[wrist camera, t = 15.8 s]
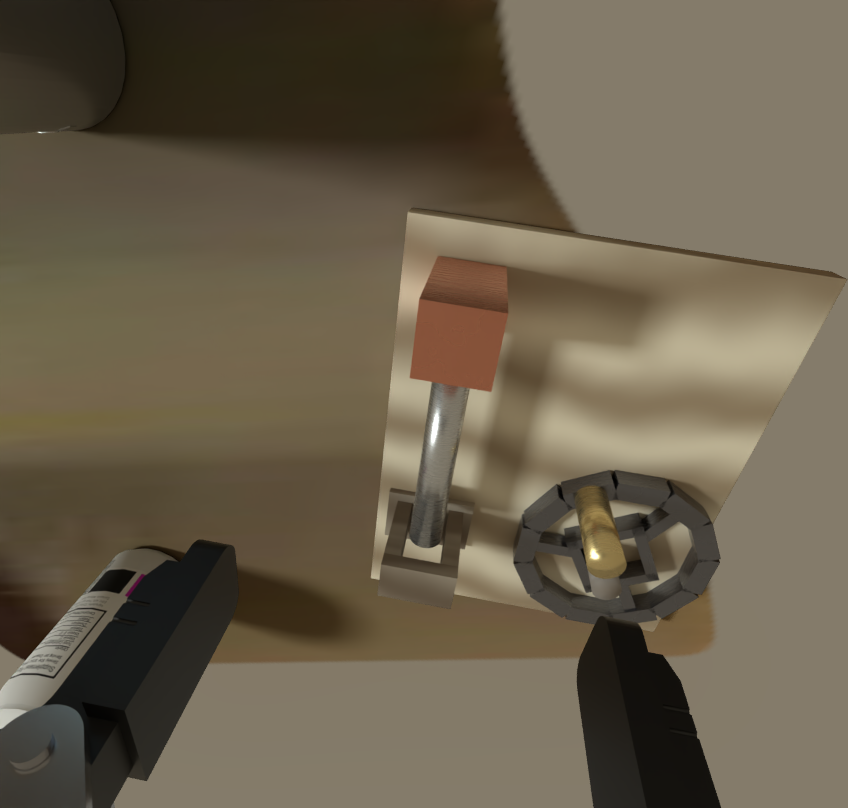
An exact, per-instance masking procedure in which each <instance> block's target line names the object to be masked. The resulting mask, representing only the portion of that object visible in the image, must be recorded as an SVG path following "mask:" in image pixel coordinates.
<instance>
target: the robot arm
mask: <svg viewBox="0 0 848 808" xmlns="http://www.w3.org/2000/svg"><path fill="white" fill-rule="evenodd" d="M124 78H125V51H124V44H123V37H122V32H121V29H120V26H119V23H118V20H117V17H116V13H115V11H114V9H113V6H112V4H111V2H110V0H0V134H14V133H32V132H39V133H53V132H59V131H75V130H82V129H85V128H89V127H93V126H94V125H96V124H98V123H99V122H101V121H102V120H104V119H105V118H106V117H107V116H108V115H109V113H110V112H111V111H112V110H113V109H114V107H115V105H116V103H117V101H118V99H119V97H120V95H121V92H122V87H123V82H124ZM238 594H239V588H238V577H237V566H236V555H235V549H234V547H233V546H232V545H227V544H222V543H217V542H211V541H206V540H197V541H195V542H194V543H193V544H192V546H191V547H190V548H189V550H188V551H187V553H186V554H185V556H184V557H183V558H182V560H181V561H180V562H177V561H172V560H166V561H165V562H163V563H162V564H160V565H159V566H158V567H156V568H155V569H154V570H152V571H151V572H149V573H148V574H147V575H145V576H144V577H143V578H142V579H141V581H140V582H139V583H138V585H137V586H136V587H135V589H134V590H133V591H132V593H131V594H130V595H129V597H128V598H127V601H126V603H123V604H122V606H121V607H120V608H119V610H118V611H117V612H116V614H115V615H114V616H113V620H112V621H111V622H110V621H109V623H108V624H107V625H106V627H105V628H104V629H103V631H102V632H101V633H100V635H99V636H98V637H97V639H96V640H95V641H94V643H93V644H92V645H91V646H90V648H89V649H88V650H87V652H86V653H85V654H84V656H83V657H82V658H81V660H80V661H79V662H78V664H77V665H76V666H75V668H74V669H73V670H72V671H71V673H70V674H69V675H68V677H67V678H66V679H65V681H64V682H63V683H62V685H61V686H60V687H59V689H58V690H57V691H56V692H55V693H54V695H53V696H52V697H51V698H50V699H49V700H48V701H47V702H46V703H45V704H44V705H42V706H41V707H38V708H35V709H32V710H30V711H28V712H25V713H24V714H22V715H20V716H18V717H17V718H15V719H14V720H12V721H11V722H9V723H8V724H7V725H6V726H5V727H3V728H2V729H0V808H115V806H114V801H115V799H116V797H117V795H118V793H119V791H120V790H121V788H122V786H123V784H124V782H125V781H126V779H127V777H130V778H135V779H139V780H144V781H147V779H148V778H149V776H150V774H151V772H152V770H153V768H154V766H155V764H156V763H157V761H158V758H159V757H160V755H161V753H162V751H163V749H164V747H165V745H166V743H167V741H168V740H169V738H170V736H171V734H172V732H173V730H174V728H175V726H176V724H177V722H178V720H179V718H180V717H181V715H182V713H183V711H184V709H185V707H186V705H187V703H188V701H189V699H190V698H191V696H192V694H193V692H194V690H195V688H196V686H197V684H198V682H199V680H200V679H201V677H202V675H203V673H204V671H205V669H206V667H207V665H208V663H209V661H210V659H211V658H212V656H213V654H214V652H215V650H216V648H217V646H218V644H219V642H220V640H221V638H222V637H223V635H224V633H225V631H226V629H227V627H228V625H229V623H230V621H231V619H232V617H233V615H234V612H235V609H236V605H237V601H238ZM577 689H578V697H579V704H580V712H581V719H582V726H583V733H584V741H585V748H586V756H587V763H588V770H589V778H590V785H591V792H592V799H593V806H594V808H721V806H720V803H719V800H718V796H717V793H716V790H715V787H714V784H713V781H712V778H711V774H710V771H709V768H708V765H707V762H706V759H705V756H704V753H703V749H702V747H701V743H700V740H699V739H698V738H697V731H696V728H695V724H694V721H693V718H692V715H690V714H689V706H688V703H687V699H686V696H685V693H684V690H683V687H682V684H681V681H680V679H679V678H678V676H677V675H676V674H675V672H674V671H673V669H672V668H671V666H670V665H669V663H668V662H667V660H666V659H665V658H664V656H663V655H660V654H655V653H650V652H648V650H647V646H646V642H645V639H644V635H643V632H642V629H641V627H640V625H639V624H638V623H637V622H632V621H627V620H622V619H616V618H611V617H606V616H600V617H599V618H598V619H597V621H596V623H595V626H594V628H593V630H592V632H591V634H590V636H589V639H588V641H587V643H586V645H585V647H584V650H583V652H582V654H581V656H580V659H579V663H578V669H577Z"/></svg>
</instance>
